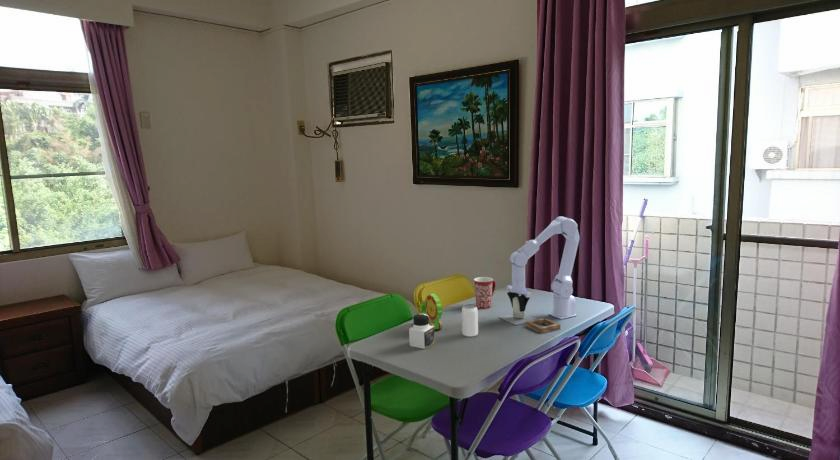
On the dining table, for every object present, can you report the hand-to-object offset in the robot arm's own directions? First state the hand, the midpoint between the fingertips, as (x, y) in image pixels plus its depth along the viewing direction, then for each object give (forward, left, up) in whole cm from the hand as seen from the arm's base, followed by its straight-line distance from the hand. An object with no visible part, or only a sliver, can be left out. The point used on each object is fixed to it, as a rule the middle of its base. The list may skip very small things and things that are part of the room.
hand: (518, 309), depth 228 cm
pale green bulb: (0, 0, -3) cm, 3 cm away
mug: (+1, -24, -5) cm, 24 cm away
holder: (-2, +14, -4) cm, 15 cm away
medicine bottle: (+50, +5, -5) cm, 50 cm away
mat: (0, 0, -4) cm, 4 cm away
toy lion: (+38, -11, -5) cm, 39 cm away
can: (+28, +5, -5) cm, 29 cm away
